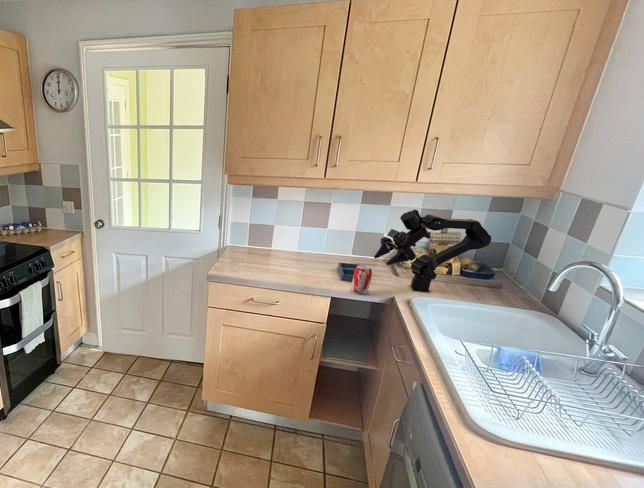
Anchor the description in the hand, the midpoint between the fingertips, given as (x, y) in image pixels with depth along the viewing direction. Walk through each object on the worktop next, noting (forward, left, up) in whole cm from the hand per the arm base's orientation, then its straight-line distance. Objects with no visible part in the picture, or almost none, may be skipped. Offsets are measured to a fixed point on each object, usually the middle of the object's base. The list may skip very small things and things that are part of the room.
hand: (380, 260), depth 180 cm
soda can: (+7, +4, -14) cm, 16 cm away
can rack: (+8, -19, -14) cm, 25 cm away
